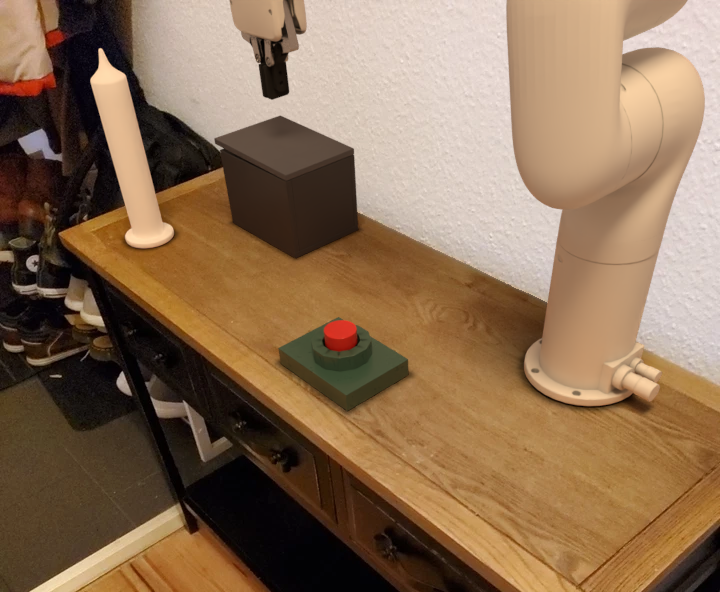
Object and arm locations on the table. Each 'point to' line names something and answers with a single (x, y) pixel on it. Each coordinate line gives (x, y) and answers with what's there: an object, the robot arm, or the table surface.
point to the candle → (128, 157)
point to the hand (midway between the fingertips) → (276, 95)
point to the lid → (284, 147)
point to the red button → (340, 335)
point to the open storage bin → (292, 203)
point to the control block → (344, 366)
